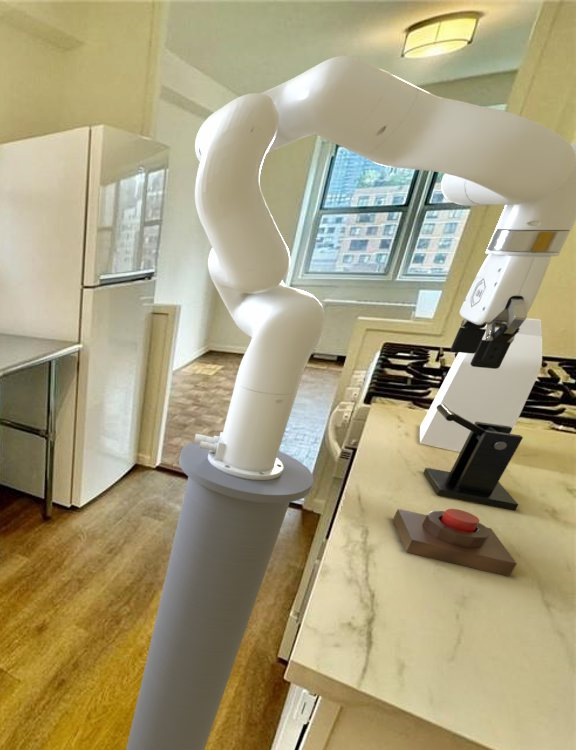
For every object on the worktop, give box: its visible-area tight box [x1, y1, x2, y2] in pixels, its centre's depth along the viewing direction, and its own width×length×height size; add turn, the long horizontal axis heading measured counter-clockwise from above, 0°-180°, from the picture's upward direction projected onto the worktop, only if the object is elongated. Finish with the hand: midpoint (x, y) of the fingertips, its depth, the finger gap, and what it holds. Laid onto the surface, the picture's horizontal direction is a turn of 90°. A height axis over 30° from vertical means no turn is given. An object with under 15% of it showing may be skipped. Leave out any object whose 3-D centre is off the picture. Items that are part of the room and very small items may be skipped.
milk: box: [419, 317, 543, 453], centre depth 96 cm, size 12×12×26 cm
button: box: [440, 508, 480, 533], centre depth 68 cm, size 4×4×2 cm
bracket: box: [422, 422, 524, 511], centre depth 82 cm, size 10×9×12 cm
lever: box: [437, 404, 498, 440], centre depth 81 cm, size 10×6×2 cm, turn 63°
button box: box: [392, 508, 518, 577], centre depth 69 cm, size 11×9×4 cm
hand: (472, 359), depth 77 cm, fingers open, 9 cm apart
